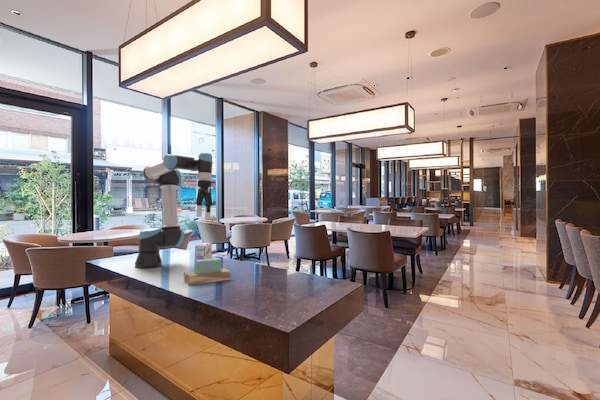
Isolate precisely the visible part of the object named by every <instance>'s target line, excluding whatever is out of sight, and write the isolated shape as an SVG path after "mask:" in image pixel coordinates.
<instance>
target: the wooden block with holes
mask: <svg viewBox="0 0 600 400" xmlns="http://www.w3.org/2000/svg"><path fill="white" fill-rule="evenodd" d="M231 275H232V270H229V269H227V268H225V267H221V271H220V272H212V273H203V274H196V273H194V271H186V272H185V271H184V274H183V282H184V283H185V284H187V285H188V286H195V285H200V284H201V285H202V284H208V283H217V282H223V281H228V280H230V281H231V277H232V276H231Z"/></svg>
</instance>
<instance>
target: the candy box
mask: <svg viewBox="0 0 600 400" xmlns="http://www.w3.org/2000/svg"><path fill="white" fill-rule="evenodd" d="M212 256H213V243H212V242H202V243H199V244H197V245H195V250H194V261H195V260H201V259H212Z"/></svg>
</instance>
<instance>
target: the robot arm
mask: <svg viewBox="0 0 600 400" xmlns="http://www.w3.org/2000/svg"><path fill="white" fill-rule="evenodd" d="M180 170H186V171H191V172H197V195H196V199H195V205H196V217H197V218H202V215H203V213H202V212H203V201H204V202H205V204H204V207H205V208H204V210H205V211H204V219H211V211H212V210H211V207H212V206H213V205H214V204H213V199H212V190H211V188H212V179H213V177H212V176H213V173H212V172H213V155H212V153H208V152H199V153H198V157H191V156H186V155H185V156H184V155H183V156H182V155H178V154H168V153H167V154H165V155H164V157H163V159H162V160H161V161H159V162H156V163H154V164H149V165H147V166H145V167H144V168H143V171H142V175H143V178H144V179H145V180H146V181H147V182H149V183H151V184H156V185H159V188H160V189H161V192H162V214H163V225H162V226H161V228H159V227H151V228H150V227H149V228H145V229H142V230H140V231H139V235H138V254H137V257H136V259H135V262H134V267H135V268H137V269H152V268H158V267H161V266H162V265H163V264H162V263H163V261H162V258H161V255H160V249H165V248H176V247H180V246H181V245H182V244H183V242H184V241H185V240H184V239H185V232H184V230H183V229H182V228H181V225H179V223H178V206H177V205H178V203H177V201H178V200H177V189H178V188H179V185H181V183H182V174H181V171H180Z"/></svg>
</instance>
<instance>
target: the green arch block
mask: <svg viewBox="0 0 600 400" xmlns="http://www.w3.org/2000/svg"><path fill="white" fill-rule="evenodd" d="M222 260H223V259H222V258H219V257H213V258H212V259H201V260H195V259H194V269H193V272H194V273H196V274H203V273H212V272H220V271H221V268H222Z"/></svg>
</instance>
